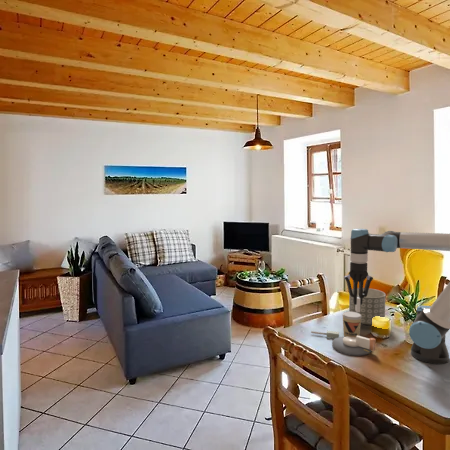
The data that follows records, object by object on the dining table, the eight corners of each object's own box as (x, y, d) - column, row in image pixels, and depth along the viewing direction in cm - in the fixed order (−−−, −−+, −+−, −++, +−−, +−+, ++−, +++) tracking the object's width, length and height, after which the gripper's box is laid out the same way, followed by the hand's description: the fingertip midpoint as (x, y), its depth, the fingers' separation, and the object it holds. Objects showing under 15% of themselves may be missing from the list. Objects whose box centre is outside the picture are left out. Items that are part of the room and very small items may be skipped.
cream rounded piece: (340, 343, 173) (340, 333, 172) (347, 338, 178) (347, 328, 178) (371, 353, 162) (372, 342, 162) (378, 347, 168) (378, 337, 167)
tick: (363, 350, 166) (363, 349, 166) (364, 349, 167) (364, 349, 167) (368, 352, 164) (368, 351, 164) (369, 351, 165) (369, 351, 164)
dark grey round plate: (373, 343, 176) (373, 340, 176) (368, 359, 161) (368, 355, 161) (336, 336, 185) (336, 333, 185) (328, 350, 170) (328, 346, 170)
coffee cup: (341, 338, 183) (341, 316, 182) (342, 331, 192) (343, 310, 190) (360, 341, 179) (361, 318, 178) (361, 334, 188) (361, 312, 187)
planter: (346, 317, 214) (346, 287, 212) (379, 318, 211) (379, 288, 210) (352, 329, 195) (353, 297, 193) (389, 330, 193) (390, 298, 191)
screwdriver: (338, 337, 185) (339, 332, 185) (338, 339, 183) (338, 334, 182) (311, 333, 190) (311, 328, 190) (310, 335, 188) (310, 330, 187)
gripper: (370, 260, 168) (369, 308, 171) (342, 260, 169) (341, 308, 172) (375, 263, 161) (374, 314, 163) (346, 263, 162) (345, 313, 164)
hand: (357, 311), depth 167 cm, fingers closed
